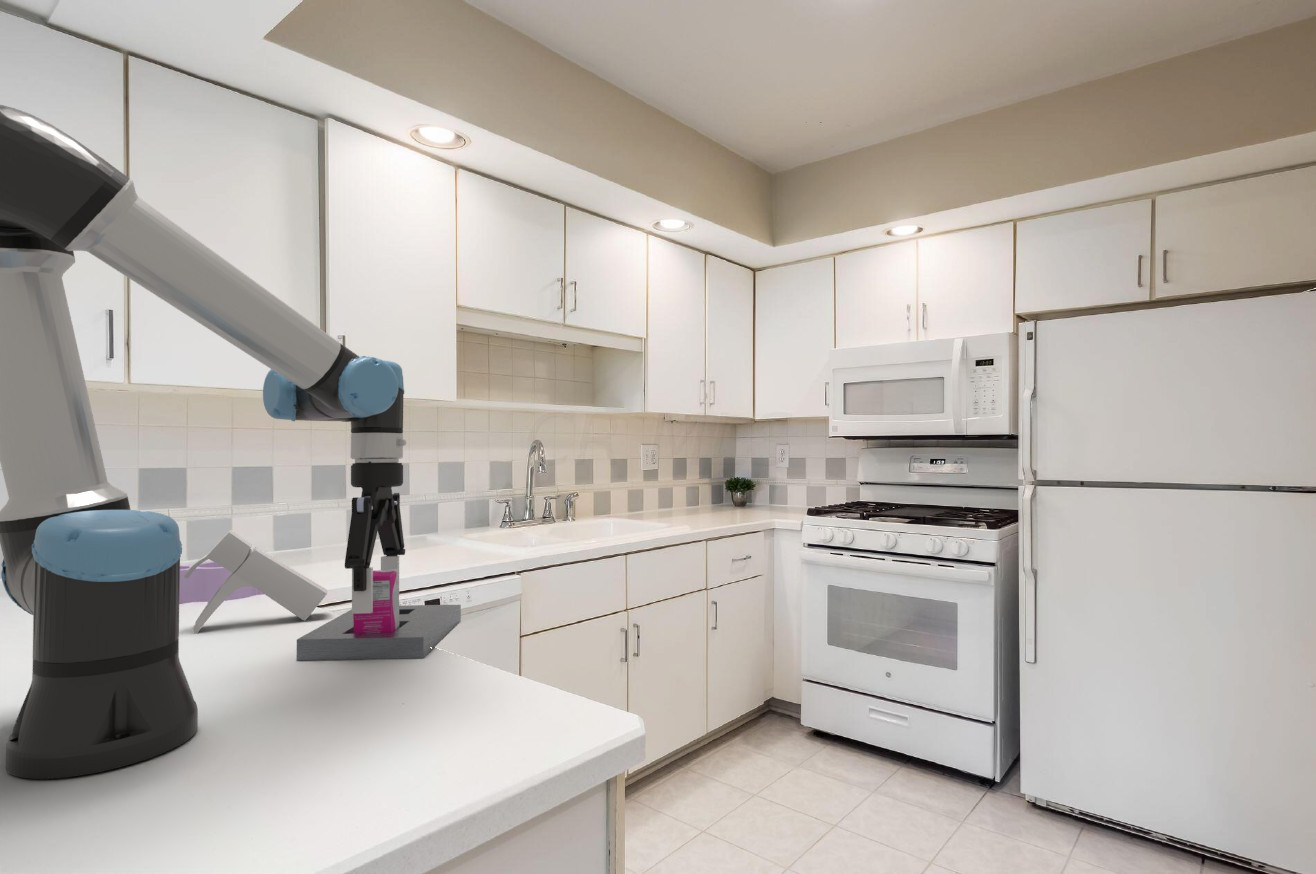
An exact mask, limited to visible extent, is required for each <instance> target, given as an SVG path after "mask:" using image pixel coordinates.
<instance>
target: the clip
mask: <svg viewBox="0 0 1316 874" xmlns="http://www.w3.org/2000/svg"><path fill="white" fill-rule="evenodd" d="M192 565H193V564H185V565H184V564H183V565H181V564H180V594H179V605H184V604H188V603H201V602H202V603H209V601H210V600H211V599H212V597H213V596H214V595H215V593H216V592H217V591H218V589H219V588H220V587H221V586H222V584H223V583H224V582H225V581H226V580H227V578H228V577H229V576H230V575H231V574H232V572H230V571H229V570H227V569H225V568H224V567H222V566H220V565H218V564H217V563H215V562H213V561H204V562H203V563H201V564H200V565H199V566H198V567H197V568H196V569H195V570H194V571H193V572H192V573H191V575H190V577H189V578H187V579H185V578H184V576H185V574H186V573H187V571H188V570H189V569H190V567H191V566H192ZM257 595H265V594H264V593H262V592H261V591H259V590H258V589H256V588H254V587H242V588H239V589H237V590H235V591H234V592H233V593H232V594H231V595H230V596H229V597H228V598H227V599H226V600H225V601H224V602H226V601H234V600H235V601H236V600H240V599H241V600H242V599H245V598H250V597H254V596H257Z"/></svg>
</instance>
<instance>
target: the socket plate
mask: <svg viewBox="0 0 1316 874" xmlns="http://www.w3.org/2000/svg"><path fill="white" fill-rule="evenodd" d="M461 607H462V605H461V604H428V605H427V604H426V605H425V604H424V605H422V604H421V605H418V604H416V605H415V604H414V605H411V604H410V605H399V623H400V628H399V629H398V630H397V631H395V632H394V633H365V634H354V625H353V614H352V608H351V609H350V610H348V611H346V612H345V613H343V614H341V615H338V616H337V617H335V618H333V619H332V620H330V621H328V622H325V623H324V624H322V625H320V626H318V627H317V628H315V629H314V630H311V631H310V632H308V633H306V634H304V635H302V636H300V637H299V638H297V639H296V661H297V662H298V661H336V660H337V661H338V660H340V661H341V660H386V659H387V660H391V659H392V660H393V659H396V658H401V659H424V658H426V656H427V655H428V654H430V652H432V650H433V649H434V648H436V647H437V645H439V644H440V643H441V641H443V640H444V639H445V638H446V637H447V636H448V635H449V634H450V633H451V632H452V631H453V630H454V629H455V628H456V627H457V626H458V625H459V624H461V622H462V620H461V619H462V617H461V616H462V614H461V613H462V609H461ZM430 647H432V648H433V649H431V648H430Z"/></svg>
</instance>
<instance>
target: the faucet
mask: <svg viewBox="0 0 1316 874" xmlns="http://www.w3.org/2000/svg"><path fill="white" fill-rule="evenodd" d="M252 545H253V544H252V543H251V542H249V541H248V540H247V539H245V538H244V537H243V536H241V535H239V534H238V533H236V532H235V531H233V530H232V529H229V530H228V531H227V532H225V534H224V536H222V537H221V538H220V540H219V541H218V542H217V543H216V544H215V545H214V546H213V547H212V549H210V550H209V552H208V553H207V554H206V555H204V556H202V557H200V558H199V559H198V560H196V561H195V562H194V563H193V564H191V565H192V566H191V567H190V569H189V570H188V571H187V573H186V574H185V576H184V578H185V579H187V578H189V577H190V575H191V573H192V572H193V571H194V570H195V569H196V568H197V567H198V566H199V565H200V564H201V563H205V562H207V560H210V562H215V563H217V564H218V565H220V566H222V567H224V568H225V569H227V570H229V571H230V572H232V574H231V575H230V576H229V577H228V578H227V580H226V581H225V582H224V583H223V584H222V586H221V587H220V588H219V589H218V591H217V592H216V593H215V595H214V596H213V597H212V599H211V600H210V601H209V602H207V604H206V605H205V607H204V609H203V610H202V612H201V613H200V614H199V615H198V617H197V619H196V620H195V624H194V625H193V628H192V632H193V633H194V634H199V632H200V631H201V629H202V627H203V626H204V625H205V623H207V621H209V618H210V617H211V616H213V614H214V613H215V612H216V611H217V609H218V608H219V607H220V606H221V605H222V604H223V603H224V602H226V601H225V600H226V599H227V598H228V597H229V596H230V595H231V594H232V593H233V592H234V591H235V590H237V589H239V588H242V587H254V588H256V589H258V590H259V591H261V592H262V593H264V594H263V595H265V596H267V597H268V598H269V599H271V600H272V601H274V602H275V603H277V604H278V605H280V606H282V607H283V608H284V609H286V610H287V611H289V612H290V613H292V614H293V615H295V616H296V617H298V618H299V619H300V620H302V621H303V620H304V622H305V621H306V620H307V619H308V618H309V617H310V616H311V614H313V612H314V610H316V608H317V607H318V606H319V605H320V603H321V602H322V601H323V600H324V598H325V597H326V596H327V595H328V589H327V588H325V587H324V586H322V585H320V584H319V583H317V582H315V581H313V580H312V579H310V578H309V577H307V576H306V575H304V574H301V572H299V571H297V570H295V569H293V568H291V567H290V566H289V565H286V564H285V563H283V562H282V561H280V560H278V559H277V558H275V557H274V556H272V555H270V554H269V553H266V551H263V550H262V549H260V548H258V547H256V546H254V547H253V549H251V548H252Z"/></svg>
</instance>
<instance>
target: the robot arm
mask: <svg viewBox="0 0 1316 874" xmlns="http://www.w3.org/2000/svg"><path fill="white" fill-rule="evenodd" d="M74 251H75V252H77V251H79V252H80V251H81V252H88V253H89V254H91V255H92V256H94V257H95V258H97V259H98V260H100V261H101V262H103V263H105V264H106V265H108V266H109V267H111V268H112V269H114V270H116V271H117V272H119V273H121V274H122V275H123V276H125V277H127V278H128V279H130V280H131V281H133V282H135V283H136V284H137V285H139V286H141V287H142V288H144V289H146V291H149V292H150V293H151V294H153V295H155V296H156V297H157V298H159V299H160V300H163V301H164V302H166V303H167V304H169V305H170V306H172V307H173V308H175V309H176V310H178V311H179V312H182V314H184V315H186V316H188V317H189V318H190V319H193V320H194V322H197V323H198V324H200V325H201V326H203V327H205V328H206V329H208V330H209V331H211V332H212V333H214V334H215V335H217V336H219V337H220V338H222V339H224V340H225V341H226V342H228V343H230V344H231V345H233V346H235V347H236V348H238V349H239V350H241V351H242V352H244V353H245V354H246V355H248V356H250V357H252V358H254V359H255V360H256V361H258V362H259V363H261V364H262V365H264V366H266V367H267V368H269V369H270V370H268V372H267V374H266V376H265V378H264V382H263V387H262V401H263V406H264V409H265V411H266V412H267V414H268V415H269V416H270V417H271V418H274V419H276V420H285V421H286V420H287V421H291V422H295V421H307V422H310V421H312V422H343V423H344V422H345V423H349V422H350V458H351V459H352V460H354V463H351V465H350V485H351V487H353V488H361V489H362V490H361V496H360V497H359V496H358V497H356V496H355V497H352V498H351V515H350V522H349V529H348V530H349V531H348V538H347V544H346V552H345V556H344V557H345V559H344V568H345V569H347V570H348V569H351V609H352V614H354V613H372V612H373V570H374V567H373V566H371V562H372V558H373V553H374V548H375V545H376V540H377V539H376V538H377V536H378V537H379V538H378V539H379V541H380V546H381V549H382V554H383V555H382V556H380V570H390V569H398V575H399V576H400V556H404V555H405V554H406V548H405V542H404V541H405V540H404V531H403V523H402V515H401V507H400V506H401V505H400V504H401V503H400V502H401V498H400V497H401V496H400V495H401V494H400V492H393V490H392V488H394V487H401V486H402V485H403V484H404V464H403V463H402V462H400V460H401V459H403V457H404V447H403V446H406V444H407V441H406V439H404V395H405V386H404V375H403V368H402V366H401V365H400V364H399V363H397V362H394V361H391V360H383V359H380V358H377V357H373V356H372V357H371V356H365V355H363V356H359V355H358V354H356V353H355V352H353V351H352V350H351V349H349V348H348V347H346V346H345V345H343V343H341V342H339V341H338V340H336V339H335V338H334V337H333V336H331V335H329V334H328V333H327V332H325V331H324V330H323V329H321V328H319V327H318V326H317V325H315V324H314V323H313V322H312V321H310V320H309V319H307V318H306V317H305V316H303V315H302V314H301V313H299V312H298V311H297V310H296V309H293V308H292V307H291V306H289V304H286V303H285V302H284V301H282V300H281V299H279V297H278V296H276V295H275V294H273V293H272V292H270V291H269V290H267V289H266V288H264V286H262V285H260V284H259V283H257V281H255V280H253V279H252V278H251V277H250V276H249V275H247V274H245V273H244V272H242V271H241V270H240V269H238V268H237V267H236V266H234V265H233V264H231V262H229V261H228V260H226V259H225V258H224V257H222V256H220V255H219V254H218V253H217V252H215V251H214V250H213V249H210V248H209V247H208V246H206V245H205V244H204V243H202V241H200V240H199V239H197V238H196V237H194V236H193V235H192V234H190V233H189V232H187V231H186V230H185V229H183V228H182V227H181V226H179V225H178V224H176V223H175V222H174V221H172V220H171V219H169V218H168V217H166V216H165V215H164V214H162V213H161V212H160V211H158V210H157V209H156V208H155V207H153V206H151V205H150V203H147V202H146V201H144V200H143V199H142V198H140V197H139V196H138V194H137V191H136V188H135V184H134V180H132V179H131V178H130V177H129V176H128V175H125V174H124V173H123V172H122V171H120V170H119V169H117V168H116V167H115V166H114V165H112V164H111V163H109V162H108V161H107V160H105V159H104V158H102V157H101V156H99V154H97V153H95V152H94V151H92V150H91V149H90V148H89V147H87V146H85V145H84V144H82V143H81V142H80V141H79V140H76V138H74V137H72V136H70V135H69V134H67V133H66V132H64V131H63V130H61V129H60V128H58V127H56V126H55V125H53V124H51V123H49V122H47V121H45V120H44V119H41V118H39V117H37V116H35V115H33V114H31V113H28V112H26V111H22V110H20V109H17V108H15V107H11V106H7V105H3V104H0V466H1V471H2V475H3V479H4V483H5V487H6V491H7V495H8V500H7V502H6V504H5V505H4V506H3V507H2V508H1V509H0V548H1V552H2V556H3V560H2V562H1V568H2V569H1V572H0V577H1V582H2V585H3V588H4V590H5V592H6V594H7V595H8V597H9V598H10V600H11V601H12V602H13V603H15V604H16V606H17V607H19V608H20V609H22V610H23V611H24V612H27V613H28V614H30V615H32V616H33V617H32V618H33V619H32V620H33V621H32V627H33V628H32V673H31V674H32V675H31V677H32V678H31V683H30V686H29V688H28V691H27V693H26V696H25V699H24V701H23V703H22V705H21V707H20V710H19V713H18V716H17V718H16V719H15V722H14V726H13V729H12V732H11V734H10V735H9V737H8V739H7V742H6V746H5V770H6V772H7V773H8V774H10V775H12V776H15V777H18V778H22V779H23V778H24V779H32V780H33V779H34V780H37V779H39V780H40V779H41V780H45V779H60V778H61V779H62V778H70V777H77V776H84V775H90V774H96V773H102V772H105V771H109V770H114V769H118V768H123V767H126V766H129V765H133V764H136V763H140V762H143V761H146V760H149V759H151V758H154V757H157V756H159V755H161V754H164V753H166V752H170V751H171V750H173V749H175V748H177V747H179V746H180V745H182V744H184V743H186V742H187V741H188V740H189V739H192V737H193V736H195V734H196V733H197V730H198V725H199V724H198V722H199V718H198V717H199V716H198V714H199V711H198V709H199V708H198V705H197V703H196V700H195V698H194V696H193V693H192V690H191V687H190V685H189V682H188V679H187V677H186V674H185V671H184V668H183V666H182V664H181V662H180V656H179V654H180V653H179V652H180V651H179V649H180V648H179V647H180V645H179V644H180V643H179V642H180V641H179V640H180V639H179V637H180V604H179V594H180V566H181V555H182V552H183V544H182V541H181V538H180V537H181V536H180V528H179V525H178V523H177V521H176V520H175V519H174V518H172V517H171V516H169V515H167V514H163V513H159V512H156V511H150V510H149V511H141V510H135V509H131V505H130V500H129V497H128V493H127V492H125V491H123V490H121V489H119V488H118V487H115V486H113V485H112V484H111V483H110V482H109V481H108V478H107V473H106V468H105V465H104V460H103V455H102V451H101V446H100V442H99V438H98V433H97V432H98V431H97V428H96V424H95V420H94V415H93V411H92V407H91V401H90V397H89V393H88V388H87V383H86V378H85V375H84V371H83V366H82V362H81V358H80V352H79V348H78V344H77V339H76V334H75V331H74V330H75V329H74V325H73V321H72V317H71V312H70V309H69V308H70V307H69V304H68V299H67V294H66V290H65V286H64V281H63V276H64V274H65V273H66V272H67V271H68V270H69V269H70V268H72V266H73V265H75V263H76V257H75V252H74Z"/></svg>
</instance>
